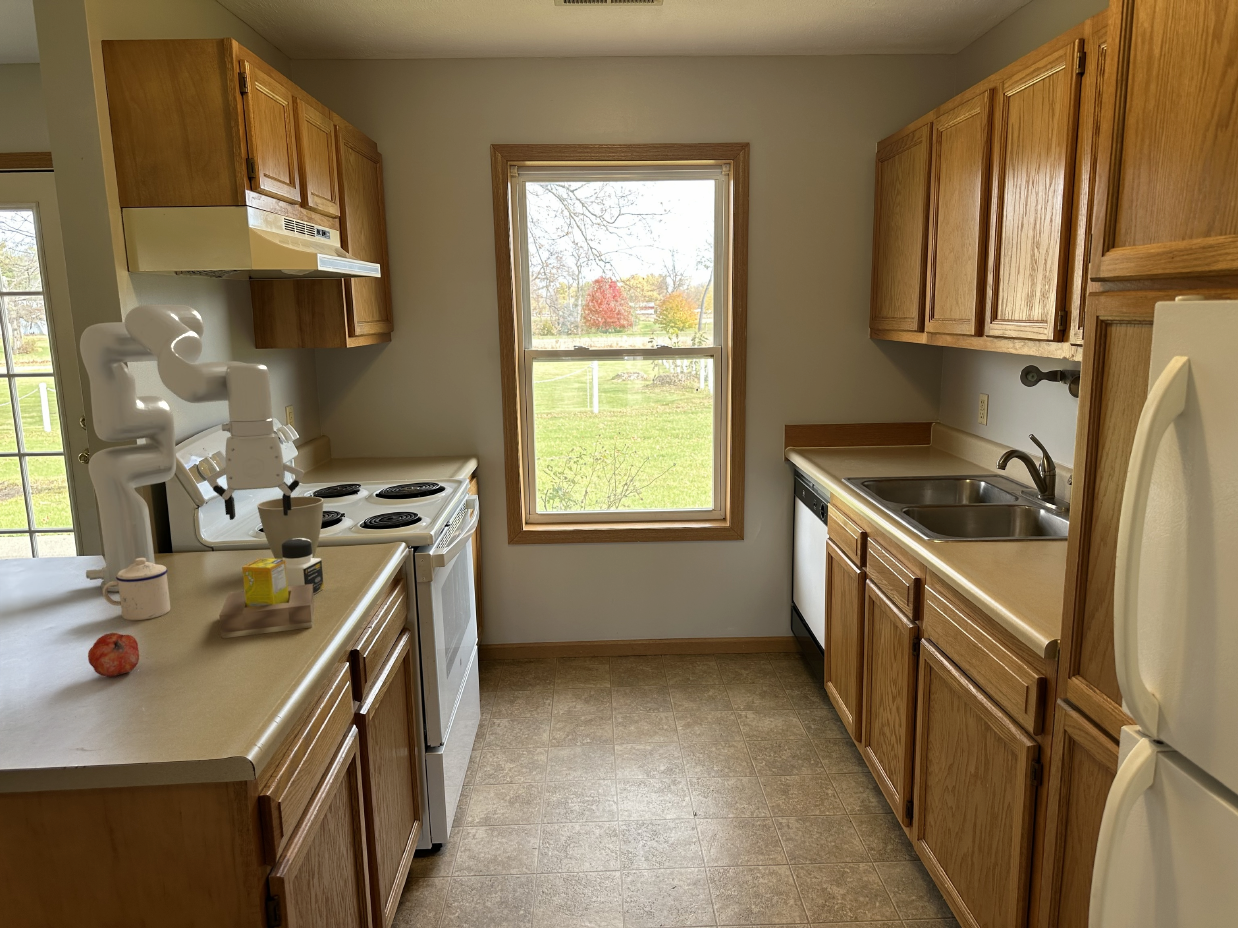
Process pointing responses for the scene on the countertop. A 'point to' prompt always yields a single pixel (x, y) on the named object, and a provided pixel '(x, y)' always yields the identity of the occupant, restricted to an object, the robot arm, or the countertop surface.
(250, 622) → the wooden square frame
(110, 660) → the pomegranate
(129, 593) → the teacup with lid
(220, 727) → the countertop surface
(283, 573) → the supplement box
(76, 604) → the countertop surface
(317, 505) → the plant pot
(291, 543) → the medicine bottle
